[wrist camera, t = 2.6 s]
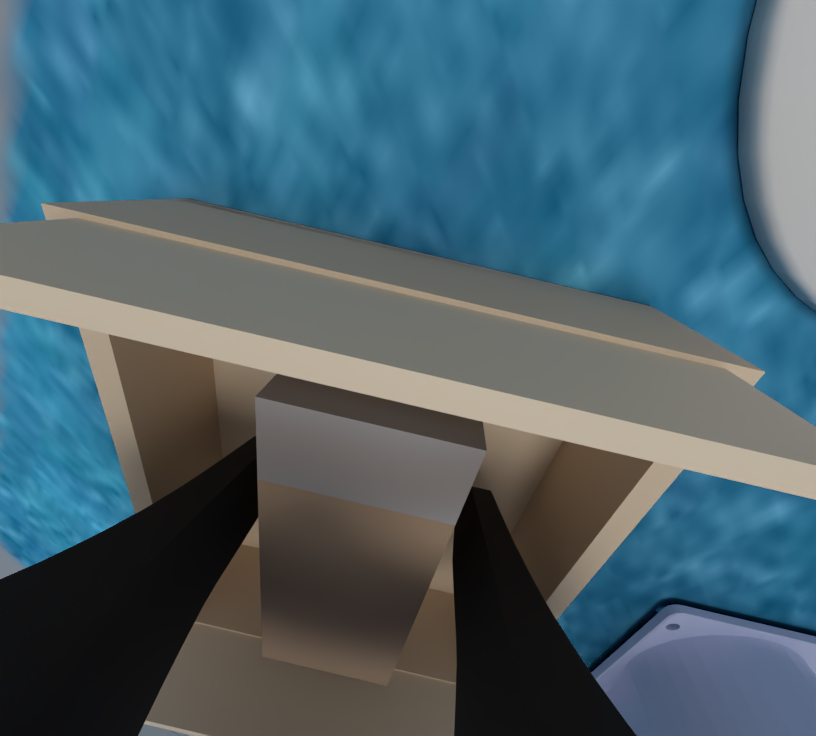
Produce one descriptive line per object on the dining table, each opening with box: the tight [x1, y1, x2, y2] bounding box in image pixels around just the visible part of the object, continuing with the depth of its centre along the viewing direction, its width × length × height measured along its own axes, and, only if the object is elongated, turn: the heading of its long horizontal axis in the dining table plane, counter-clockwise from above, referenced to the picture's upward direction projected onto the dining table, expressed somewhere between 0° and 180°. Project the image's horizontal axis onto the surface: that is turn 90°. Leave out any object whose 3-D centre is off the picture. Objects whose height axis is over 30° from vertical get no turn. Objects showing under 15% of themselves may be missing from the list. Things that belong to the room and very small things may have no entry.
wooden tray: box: [0, 199, 816, 736], centre depth 9 cm, size 14×12×6 cm
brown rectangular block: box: [255, 374, 487, 686], centre depth 10 cm, size 10×4×4 cm, turn 169°
